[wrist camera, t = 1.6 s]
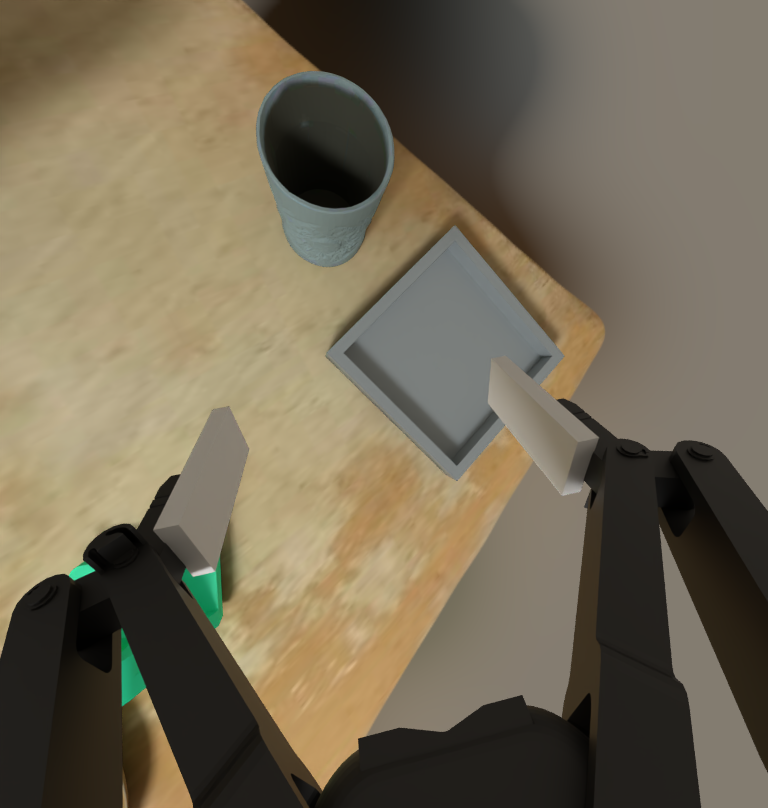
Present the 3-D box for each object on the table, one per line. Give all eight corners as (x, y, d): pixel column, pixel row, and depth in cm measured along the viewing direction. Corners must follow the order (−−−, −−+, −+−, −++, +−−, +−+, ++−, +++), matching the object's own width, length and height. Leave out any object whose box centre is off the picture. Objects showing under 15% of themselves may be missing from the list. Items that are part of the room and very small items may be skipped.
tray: (325, 356, 35) (326, 352, 32) (443, 238, 38) (454, 224, 35) (446, 474, 39) (457, 481, 36) (546, 358, 42) (564, 356, 39)
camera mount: (222, 537, 34) (184, 597, 24) (225, 608, 34) (189, 697, 24) (87, 553, 31) (-20, 628, 21) (92, 630, 31) (-11, 740, 21)
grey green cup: (324, 292, 35) (331, 241, 24) (252, 220, 33) (221, 125, 22) (386, 231, 37) (421, 154, 25) (320, 158, 35) (325, 38, 23)
